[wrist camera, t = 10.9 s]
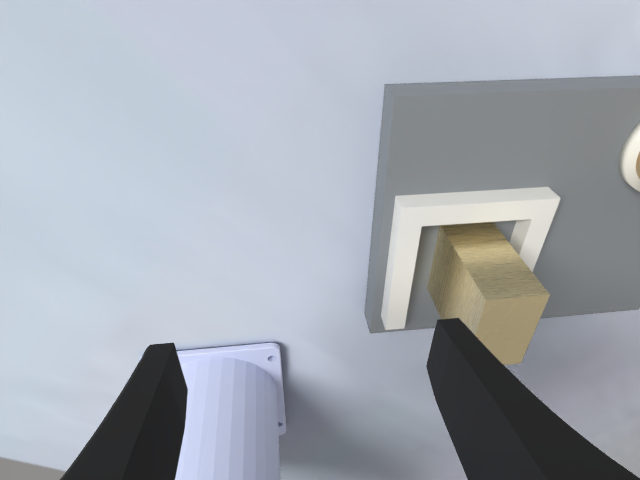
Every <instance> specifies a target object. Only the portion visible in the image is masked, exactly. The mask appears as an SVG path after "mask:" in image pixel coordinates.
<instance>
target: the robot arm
mask: <svg viewBox="0 0 640 480" xmlns="http://www.w3.org/2000/svg"><path fill="white" fill-rule="evenodd" d="M427 370H428V374H429V378H430V381H431V385H432V389H433V392H434V396H435V399H436V402H437V405H438V407H439V410H440V412H441V415H442V417H443V420H444V422H445V425H446V427H447V430H448V432H449V434H450V437H451V439H452V442H453V444H454V447H455V449H456V452H457V454H458V456H459V459H460V461H461V464H462V466H463V469H464V471H465V474H466V476H467V478H468V480H640V478H638V477H637V476H636V475H634V474H633V473H631V472H630V471H628V470H627V469H626V468H624V467H623V466H621V465H620V464H618V463H617V462H616V461H614V460H613V459H611V458H610V457H609V456H607V455H606V454H605V453H603V452H602V451H601V450H599V449H598V448H597V447H595V446H594V445H593V444H591V443H590V442H589V441H588V440H586V439H585V438H584V437H583V436H581V435H580V434H579V433H578V432H576V431H575V430H574V429H573V428H571V427H570V426H569V425H568V424H567V423H565V422H564V421H563V420H562V419H561V418H560V417H558V416H557V415H556V414H555V413H554V412H553V411H551V410H550V409H549V408H548V407H547V406H546V405H545V404H544V403H543V402H541V401H540V400H539V399H538V398H537V397H536V396H535V395H534V394H533V393H532V392H531V391H530V390H528V389H527V388H526V387H525V386H524V385H523V384H522V383H521V382H520V381H519V380H518V379H517V378H516V377H515V376H514V375H513V374H512V373H511V372H510V371H509V370H508V369H507V368H506V367H505V366H504V365H503V364H502V363H501V362H500V361H499V360H498V359H497V358H496V357H495V356H494V355H493V354H492V353H491V352H490V351H489V350H488V349H487V347H486V346H485V345H484V344H483V343H482V342H481V341H480V340H479V339H478V338H477V337H476V336H475V335H474V334H473V333H472V331H471V330H470V329H469V328H468V327H467V326H466V325H465V324H464V323H463V322H462V321H461V320H460V319H459V318H450V319H439V320H437V323H436V327H435V332H434V336H433V340H432V345H431V349H430V353H429V358H428V362H427ZM286 431H287V429H286V416H285V404H284V391H283V379H282V366H281V354H280V346H279V345H278V344H276V343H262V344H251V345H240V346H229V347H217V348H206V349H195V350H184V351H176V348H175V345H174V343H165V344H154V345H150V346H149V347H147V349H146V351H145V352H144V354H143V355H142V356H141V357H140V359H139V363H138V365H137V367H136V368H135V370H134V372H133V373H132V375H131V377H130V379H129V380H128V382H127V384H126V385H125V387H124V388H123V390H122V392H121V393H120V395H119V397H118V398H117V400H116V401H115V403H114V404H113V406H112V407H111V409H110V410H109V412H108V414H107V415H106V417H105V418H104V420H103V421H102V423H101V424H100V426H99V427H98V429H97V430H96V432H95V433H94V434H93V436H92V437H91V439H90V440H89V441H88V443H87V444H86V446H85V447H84V448H83V450H82V451H81V453H80V454H79V455H78V457H77V458H76V460H75V461H74V462H73V464H72V465H71V466H70V468H69V469H68V470H67V471H66V473H65V474H64V475H63V477H62V478H61V479H60V480H280V455H279V436H282V435H284V434H285V433H286Z"/></svg>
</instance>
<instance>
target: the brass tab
mask: <svg viewBox="0 0 640 480" xmlns="http://www.w3.org/2000/svg"><path fill="white" fill-rule="evenodd" d="M427 289H428V291H429V294H430V296H431V298H432V300H433V302H434V304H435V307H436V309H437V311H438V313H439V315H440V317H441V319H450V318H459V319H460V320H461V321H462V322H463V323H464V324H465V325H466V326H467V327H468V328H469V329H470V330H471V331H472V333H473V334H474V335H475V336H476V337H477V338H478V339H479V340H480V341H481V342H482V343H483V344H484V345H485V346H486V347H487V349H488V350H489V351H490V352H491V353H492V354H493V355H494V356H495V357H496V358H497V359H498V360H499V361H500V362H501V363H502V364H503V365H508V364H518V363H521V361H522V359H523V357H524V355H525V352H526V350H527V348H528V345H529V343H530V341H531V338H532V336H533V334H534V331H535V329H536V327H537V324H538V322H539V320H540V317H541V315H542V313H543V310H544V308H545V306H546V303H547V301H548V299H549V296H550V294H549V293H548V292H547V290H546V289H545V288H544V286H543V285H542V284H541V283H540V281H539V280H538V279H537V278H536V276H535V275H534V274H533V272H532V271H531V270H530V269H529V267H528V266H527V265H526V264H525V262H524V261H523V260H522V258H521V257H520V256H519V255H518V253H517V252H516V251H515V250H514V248H513V247H512V246H511V244H510V243H509V242H508V241H507V239H506V238H505V237H504V236H503V234H502V233H501V232H500V231H499V229H498V228H497V227H496V225H495V224H494V223H493V222H481V223H466V224H451V225H440V226H439V232H438V237H437V242H436V247H435V252H434V257H433V262H432V267H431V272H430V277H429V282H428V287H427Z"/></svg>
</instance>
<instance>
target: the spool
mask: <svg viewBox="0 0 640 480" xmlns="http://www.w3.org/2000/svg"><path fill="white" fill-rule="evenodd" d="M619 172H620V175H621V177H622V179H623V180H624V181H625V182H626V183H627V184H629V185H630V186H631V187H633V188H634V189H636V190H638V191H639V192H640V122H639V124H638V125H637V126H636V127H635V128H634V129H633V131H632V132H631V133H630V135H629V136H628V138H627V140H626V141H625V143H624V145H623V148H622V150H621V153H620V157H619Z"/></svg>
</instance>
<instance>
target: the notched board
mask: <svg viewBox="0 0 640 480" xmlns="http://www.w3.org/2000/svg"><path fill="white" fill-rule="evenodd" d="M639 122H640V76H618V77H589V78H559V79H530V80H501V81H471V82H442V83H413V84H385V90H384V101H383V112H382V124H381V135H380V146H379V157H378V169H377V180H376V191H375V203H374V214H373V225H372V236H371V248H370V259H369V270H368V281H367V293H366V304H365V317H366V320H367V324H368V328H369V331H370V333H380V332H391V331H402V330H413V329H425V328H435V327H436V323H437V320H439V319H441V317H440V315H439V313H438V311H437V309H436V307H435V304H434V302H433V300H432V298H431V296H430V294H429V291H428V289H427V287H428V282H429V277H430V272H431V267H432V262H433V257H434V252H435V247H436V242H437V237H438V232H439V226H440V225H451V224H466V223H481V222H493V223H494V224H495V225H496V227H497V228H498V229H499V231H500V232H501V233H502V234H503V236H504V237H505V238H506V239H507V241H508V242H509V243H510V244H511V246H512V247H513V248H514V250H515V251H516V252H517V253H518V255H519V256H520V257H521V258H522V260H523V261H524V262H525V264H526V265H527V266H528V267H529V269H530V270H531V271H532V272H533V274H534V275H535V276H536V278H537V279H538V280H539V281H540V283H541V284H542V285H543V286H544V288H545V289H546V290H547V292H548V293H549V294H550V296H549V299H548V301H547V303H546V306H545V308H544V310H543V313H542V315H541V317H540V318H548V317H559V316H570V315H581V314H593V313H604V312H615V311H626V310H637V309H639V308H640V192H639V191H638V190H636V189H634V188H633V187H631V186H630V185H629V184H627V183H626V182H625V181H624V180H623V179H622V177H621V175H620V172H619V157H620V153H621V150H622V148H623V145H624V143H625V141H626V140H627V138H628V136H629V135H630V133H631V132H632V131H633V129H634V128H635V127H636V126H637V125H638V124H639Z"/></svg>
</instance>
